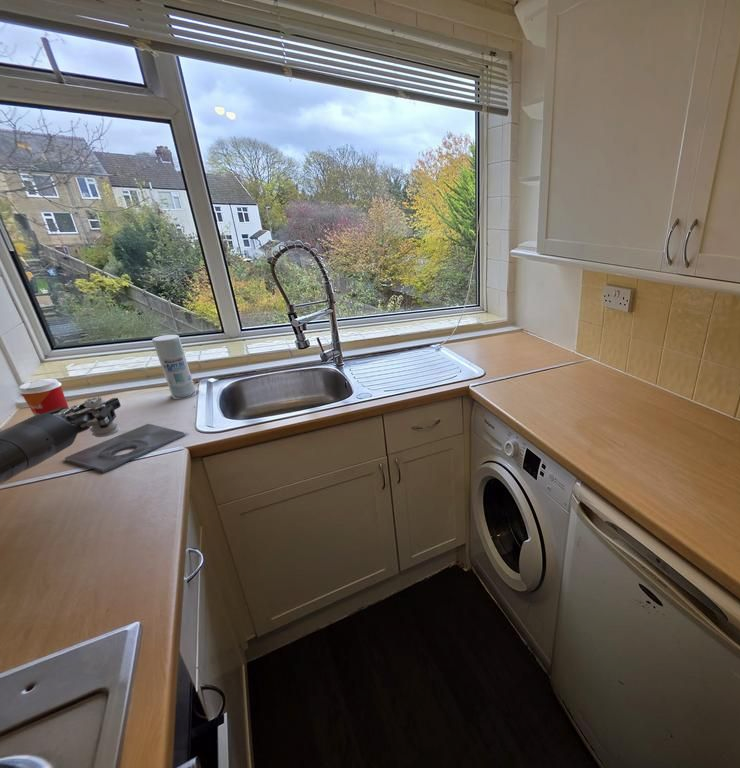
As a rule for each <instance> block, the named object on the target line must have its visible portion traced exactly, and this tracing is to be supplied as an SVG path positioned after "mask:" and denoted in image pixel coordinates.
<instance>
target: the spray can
mask: <svg viewBox="0 0 740 768" xmlns="http://www.w3.org/2000/svg"><path fill="white" fill-rule="evenodd" d="M151 340H152V344H153V346H154V350H155V353H156V355H157V357H158V360H159V363H160V367H161V370H162V372H163V375H164V377H165V380H166V383H167V386H168V389H169V392H170V395H171V397H172V399H174V400H183V399H188V398H191V397H193V396H195V395H197V390H196V387H195V383H194V379H193V377H192V374H191V371H190V368H189V364H188V361H187V357H186V354H185V351H184V347H183V344H182V341H181V338H180V335H178V334H164V335H159V336H156V337H153V338H152V339H151Z"/></svg>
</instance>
